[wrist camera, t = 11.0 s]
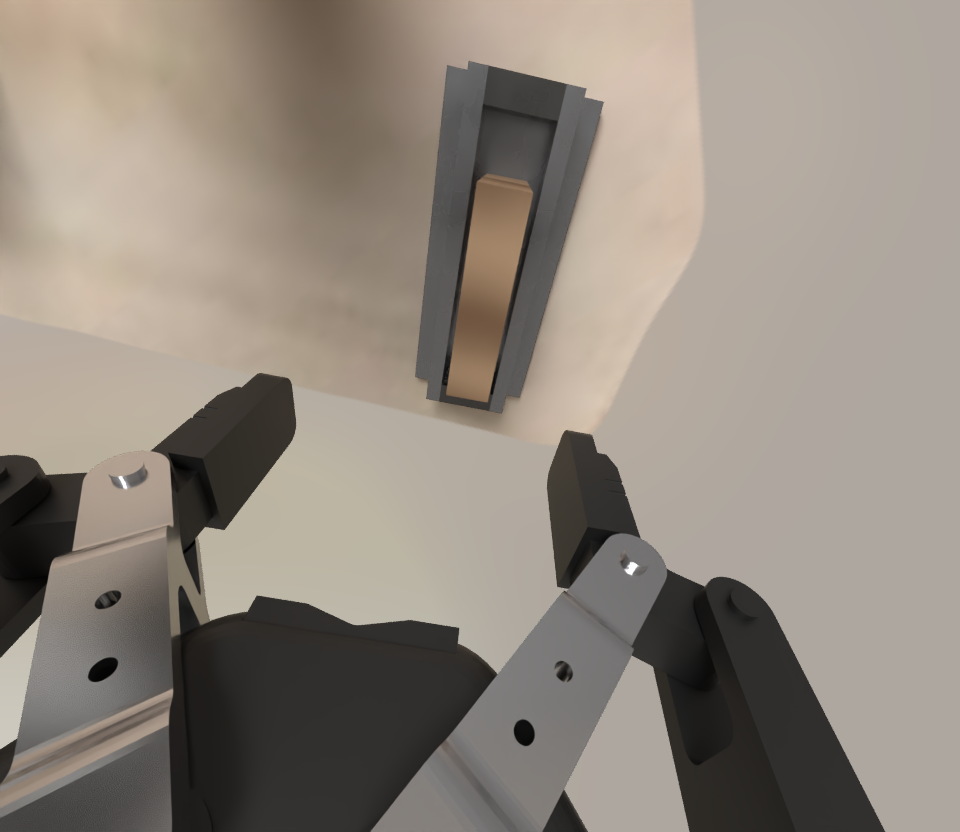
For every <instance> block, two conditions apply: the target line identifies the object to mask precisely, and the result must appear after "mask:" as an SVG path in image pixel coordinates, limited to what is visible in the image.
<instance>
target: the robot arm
mask: <svg viewBox="0 0 960 832" xmlns="http://www.w3.org/2000/svg"><path fill="white" fill-rule="evenodd" d="M295 429H296V417H295V409H294V400H293V392H292V384H291V381H290V380H289V379H288V378H284V377H279V376H273V375H268V374H263V373H259V374H257V375H256V376H254V377H253V378H252V379H251V380H250V381H249V382H248V383H247V384H245V385H244V386H243V387H242V388H241V387H235V388H233V389H231V390H228V391H226V392H224V393H221V394H219V395H217V396H216V397H215V398H214V399H213V400H212V401H210V402H209V403H208V404H206V405H205V407H204V409H203V408H202V409H200V410H199V411H198V412H197V413H196V414H194V416H193V418H190V419H188V420H187V421H186V422H185V423H184V424H182V425H181V426H180V427H179V428H178V429H176V430H175V431H174V432H173V433H172V434H170V435H169V436H168V437H167V438H166V439H164V440H163V441H162V442H161V443H160V444H158V445H157V446H156V447H155V448H154V449H152V450H151V451H135V452H129V453H124V454H121V455H117V456H114V457H112V458H109V459H107V460H105V461H103V462H101V463H100V464H98V465H96V466H95V467H94V468H93V469H91V470H90V471H89V472H88V473H74V474H57V475H56V474H55V475H45V473H44V472H43V470H42V468H41V467H40V465H39V464H38V462H37V461H36V460H35V459H33V458H30V457H27V456H19V455H7V456H0V657H2V656H3V654H4V653H5V652H6V651H7V650H8V649H9V648H10V647H11V646H12V645H13V644H14V643H15V642H16V641H17V640H18V638H19V637H20V636H21V635H22V634H23V633H24V632H25V631H26V630H27V629H28V628H29V627H30V626H31V625H32V624H33V623H34V622H35V620H36V619H37V618H38V617H39V616H40V615H41V618H40V624H39V628H38V634H37V639H36V644H35V650H34V655H33V660H32V665H31V670H30V676H29V681H28V686H27V692H26V696H25V702H24V707H23V712H22V717H21V722H20V728H19V733H18V738H17V739H16V740H14V741H13V742H11V743H9V744H8V745H6V746H5V747H3V748H2V749H0V832H588V831H587V829H586V828H585V826H584V824H583V822H582V820H581V819H580V817H579V815H578V813H577V812H576V810H575V808H574V806H573V804H572V803H571V801H570V799H569V797H568V796H567V794H566V792H565V790H564V788H565V786H566V784H567V782H568V780H569V778H570V776H571V774H572V772H573V770H574V768H575V766H576V764H577V762H578V760H579V758H580V756H581V754H582V752H583V750H584V749H585V747H586V745H587V743H588V741H589V739H590V737H591V735H592V733H593V731H594V729H595V727H596V725H597V723H598V721H599V719H600V717H601V715H602V713H603V711H604V709H605V707H606V705H607V703H608V701H609V699H610V697H611V695H612V693H613V691H614V689H615V688H616V685H617V683H618V682H619V680H620V678H621V676H622V673H623V672H624V670H625V668H626V666H627V664H628V662H629V660H630V658H631V656H634V657H636V658H638V659H640V660H642V661H644V662H646V663H648V664H650V665H651V666H653V668H654V673H655V677H656V682H657V686H658V691H659V695H660V700H661V704H662V709H663V714H664V718H665V722H666V727H667V731H668V736H669V741H670V745H671V750H672V754H673V759H674V763H675V768H676V772H677V776H678V781H679V786H680V790H681V795H682V799H683V804H684V808H685V813H686V817H687V822H688V826H689V831H690V832H885V831H884V829H883V827H882V825H881V823H880V821H879V819H878V817H877V815H876V813H875V811H874V809H873V807H872V805H871V803H870V801H869V799H868V798H867V795H866V793H865V791H864V790H863V788H862V785H861V784H860V782H859V780H858V778H857V776H856V774H855V772H854V770H853V768H852V766H851V764H850V762H849V760H848V758H847V756H846V754H845V752H844V750H843V748H842V746H841V744H840V742H839V741H838V739H837V737H836V735H835V733H834V731H833V729H832V727H831V725H830V723H829V721H828V719H827V717H826V715H825V713H824V711H823V709H822V707H821V705H820V703H819V701H818V699H817V697H816V695H815V694H814V692H813V690H812V688H811V686H810V684H809V682H808V680H807V678H806V676H805V674H804V672H803V670H802V668H801V666H800V664H799V662H798V660H797V658H796V656H795V654H794V652H793V650H792V649H791V647H790V645H789V643H788V641H787V639H786V637H785V635H784V633H783V631H782V629H781V627H780V625H779V623H778V621H777V619H776V617H775V615H774V614H773V612H772V610H771V609H770V607H769V606H768V605H767V603H766V602H765V601H764V600H763V599H762V598H761V597H760V596H759V595H758V594H757V593H756V592H755V591H753V590H752V589H751V588H749V587H748V586H746V585H745V584H743V583H741V582H739V581H736V580H734V579H731V578H727V577H716V578H713V579H711V580H710V581H709V582H708V584H707V585H706V586H705V587H704V586H702V585H700V584H697V583H695V582H693V581H691V580H689V579H686V578H684V577H682V576H680V575H678V574H675V573H673V572H672V571H670V570H668V569H666V565H665V563H664V561H663V559H662V557H661V556H660V555H659V553H658V552H657V551H656V550H655V549H654V548H653V547H652V546H651V545H649V544H648V543H647V542H646V541H644V540H642V539H641V538H640V535H639V532H638V529H637V526H636V523H635V520H634V517H633V514H632V511H631V508H630V505H629V502H628V499H627V496H625V494H626V493H625V490H624V487H623V485H622V481H621V478H620V475H619V472H618V469H617V467H616V466H615V465H614V463H613V462H612V461H611V460H610V459H609V457H608V456H607V455H605V454H599V453H597V450H596V447H595V444H594V440H593V437H592V435H590V434H585V433H579V432H574V431H568V430H566V431H565V432H564V433H563V435H562V438H561V440H560V443H559V446H558V448H557V451H556V454H555V456H554V459H553V462H552V464H551V467H550V471H549V474H548V482H547V491H548V501H549V511H550V521H551V530H552V539H553V549H554V559H555V569H556V579H557V587H561V588H567V589H568V591H567V592H565V591H564V592H563V593H561V595H560V596H559V597H558V598H557V599H556V601H555V602H554V603H553V604H552V606H551V607H550V608H549V610H548V611H547V612H546V614H545V615H544V616H543V617H542V619H541V620H540V621H539V622H538V624H537V625H536V626H535V628H534V629H533V630H532V631H531V633H530V634H529V635H528V636H527V638H526V639H525V640H524V642H523V643H522V644H521V645H520V647H519V648H518V649H517V651H516V652H515V653H514V654H513V656H512V657H511V658H510V659H509V661H508V662H507V663H506V665H505V666H504V667H503V668H502V670H501V671H500V672H499V673H498V675H497V673H496V672H495V671H494V670H493V669H492V668H491V667H490V666H489V665H488V664H487V663H486V662H485V661H484V660H483V659H482V658H481V657H479V656H478V655H477V654H476V653H474V652H472V651H471V650H469V649H468V648H466V647H464V646H462V645H460V644H458V635H459V628H456V627H450V626H443V625H437V624H431V623H425V622H419V621H412V620H407V621H398V622H388V623H378V624H369V625H352V624H350V623H347V622H345V621H343V620H341V619H339V618H337V617H335V616H333V615H330V614H328V613H325V612H324V611H322V610H320V609H318V608H316V607H313V606H311V605H309V604H306V603H299V602H294V601H287V600H281V599H275V598H269V597H263V596H256V598H255V600H254V601H253V603H252V605H251V607H250V608H249V610H248V612H242V613H237V614H232V615H227V616H224V617H221V618H218V619H215V620H212V621H210V619H209V615H208V611H207V605H206V598H205V589H204V581H203V572H202V563H201V554H200V546H199V541H198V538H197V536H198V535H199V533H200V532H201V531H202V530H203V529H204V527H209V528H215V529H221V530H225V528H226V527H227V526H228V525H229V523H230V522H231V521H232V519H233V518H234V517H235V515H236V514H237V513H238V511H239V510H240V509H241V507H242V506H243V505H244V503H245V502H246V501H247V500H248V498H249V497H250V496H251V494H252V493H253V492H254V490H255V489H256V488H257V486H258V485H259V484H260V482H261V481H262V480H263V478H264V477H265V476H266V474H267V473H268V472H269V470H270V469H271V468H272V467H273V465H274V464H275V463H276V461H277V460H278V459H279V457H280V456H281V455H282V453H283V452H284V451H285V449H286V448H287V447H288V445H289V444H290V443H291V441H292V439H293V437H294V434H295Z"/></svg>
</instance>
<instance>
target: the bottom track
mask: <svg viewBox="0 0 960 832" xmlns="http://www.w3.org/2000/svg"><path fill="white" fill-rule="evenodd" d="M585 92H586V88H581V87H577V86H573V85H569V84H564V83H560V82H556V81H552V80H547V79H543V78H539V77H535V76H530V75H526V74H522V73H518V72H513V71H509V70H505V69H500V68H496V67H492V66H488V65H483V64H479V63H475V62H471V61H469V63H468V70H465V69H461V68H456V67H452V66H448V65H447V72H446V82H445V91H444V101H443V111H442V121H441V130H440V140H439V150H438V160H437V169H436V179H435V189H434V198H433V208H432V218H431V228H430V237H429V247H428V257H427V267H426V276H425V286H424V296H423V306H422V315H421V325H420V335H419V344H418V354H417V364H416V374H415V377H418V378H424V379H429V381H428V389H427V397H426V399H430V400H435V401H440V402H445V403H451V404H456V405H461V406H466V407H471V408H477V409H482V410H487V411H492V412H497V413H502V410H503V406H504V402H505V398H506V395H511V396H516V397H520V394H521V391H522V387H523V384H524V380H525V377H526V373H527V370H528V366H529V362H530V359H531V355H532V352H533V348H534V345H535V341H536V338H537V334H538V331H539V327H540V324H541V320H542V317H543V313H544V310H545V306H546V303H547V299H548V296H549V292H550V289H551V285H552V282H553V278H554V275H555V271H556V268H557V264H558V261H559V257H560V254H561V250H562V247H563V243H564V240H565V236H566V233H567V229H568V226H569V222H570V219H571V215H572V212H573V208H574V205H575V201H576V198H577V194H578V191H579V187H580V184H581V180H582V177H583V173H584V170H585V166H586V163H587V159H588V156H589V152H590V149H591V145H592V142H593V138H594V135H595V131H596V127H597V124H598V120H599V117H600V113H601V110H602V106H603V103H604V102H602V101H598V100H593V99H589V98H585V97H584V96H585ZM487 173H490V174H495V175H500V176H505V177H510V178H514V179H519V180H524V181H527V182H528V184H529V186H530V188H531V190H532V192H533V197H532V201H531V206H530V210H529V215H528V220H527V224H526V229H525V233H524V238H523V243H522V247H521V252H520V256H519V261H518V265H517V270H516V275H515V279H514V284H513V288H512V293H511V298H510V302H509V307H508V311H507V316H506V320H505V325H504V330H503V334H502V339H501V343H500V348H499V353H498V357H497V362H496V366H495V371H494V376H493V380H492V385H491V389H490V394H489V398H488V403H487V402H482V401H476V400H471V399H465V398H460V397H454V396H449V395H446V392H447V385H448V378H449V371H450V364H451V357H452V350H453V344H454V337H455V330H456V323H457V316H458V309H459V302H460V295H461V288H462V281H463V274H464V267H465V261H466V254H467V247H468V240H469V233H470V226H471V219H472V212H473V205H474V198H475V191H476V184H477V181H478V180H480V179H481V178H482V177H483V176H485V175H486V174H487Z"/></svg>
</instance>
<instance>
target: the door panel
mask: <svg viewBox="0 0 960 832" xmlns="http://www.w3.org/2000/svg"><path fill="white" fill-rule="evenodd" d="M532 197H533V192H532V190H531V188H530V186H529V184H528V182H527V181H524V180H519V179H514V178H510V177H505V176H500V175H495V174H490V173H487V174H486V175H485V176H483V177H482V178H481V179H480V180H478V181H477V184H476V191H475V198H474V205H473V212H472V219H471V226H470V233H469V240H468V247H467V254H466V261H465V267H464V274H463V281H462V288H461V295H460V302H459V309H458V316H457V323H456V330H455V337H454V344H453V350H452V357H451V364H450V371H449V378H448V385H447V392H446V395H449V396H454V397H460V398H465V399H471V400H476V401H482V402H487V403H488V398H489V394H490V389H491V385H492V380H493V376H494V371H495V366H496V362H497V357H498V353H499V348H500V343H501V339H502V334H503V330H504V325H505V320H506V316H507V311H508V307H509V302H510V298H511V293H512V288H513V284H514V279H515V275H516V270H517V265H518V261H519V256H520V252H521V247H522V243H523V238H524V233H525V229H526V224H527V220H528V215H529V210H530V206H531V201H532Z"/></svg>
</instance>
